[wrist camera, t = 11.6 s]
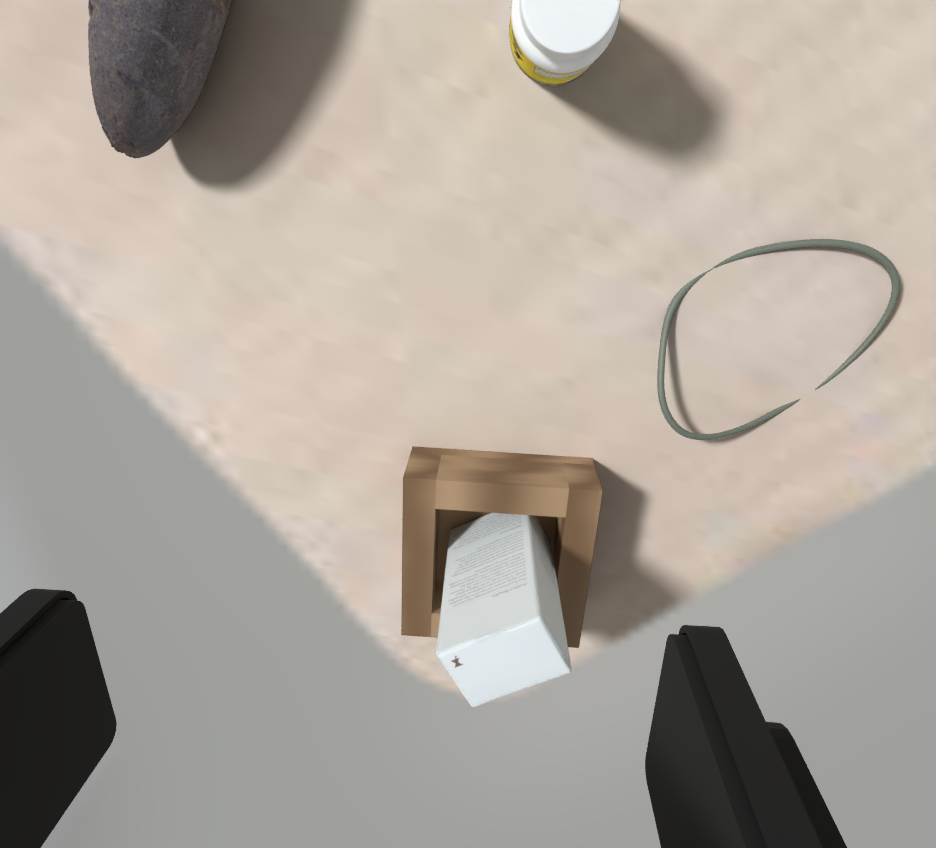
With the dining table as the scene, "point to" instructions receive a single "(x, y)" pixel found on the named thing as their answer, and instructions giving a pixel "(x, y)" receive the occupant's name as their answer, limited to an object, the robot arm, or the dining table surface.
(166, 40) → the perforated stone tool
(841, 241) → the loop
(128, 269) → the dining table surface
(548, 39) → the supplement bottle
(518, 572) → the skincare box
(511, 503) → the holder
